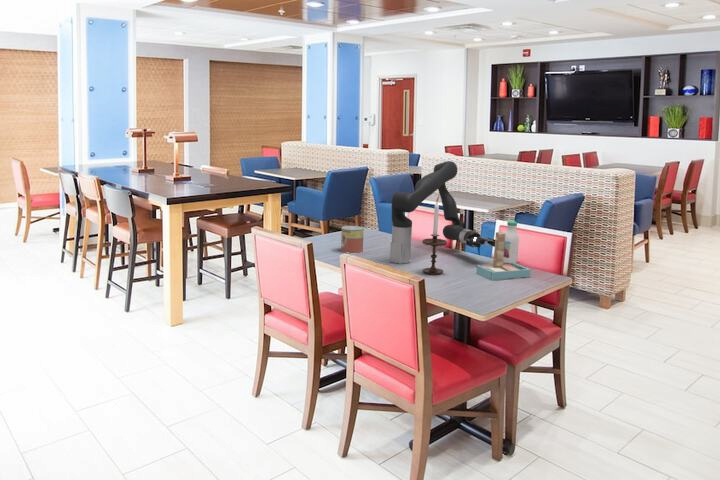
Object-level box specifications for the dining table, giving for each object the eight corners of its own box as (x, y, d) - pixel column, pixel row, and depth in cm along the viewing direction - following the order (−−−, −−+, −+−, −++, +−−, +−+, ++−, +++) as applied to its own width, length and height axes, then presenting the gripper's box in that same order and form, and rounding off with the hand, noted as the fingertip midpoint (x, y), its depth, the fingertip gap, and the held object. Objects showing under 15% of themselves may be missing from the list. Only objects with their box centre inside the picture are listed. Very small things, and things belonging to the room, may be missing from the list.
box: (476, 272, 290) (477, 265, 289) (513, 270, 297) (514, 262, 296) (491, 280, 278) (492, 272, 278) (530, 277, 286) (530, 269, 285)
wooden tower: (482, 272, 291) (485, 232, 287) (508, 270, 296) (511, 231, 292) (485, 274, 288) (489, 234, 284) (512, 272, 293) (515, 232, 289)
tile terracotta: (501, 273, 291) (502, 267, 290) (512, 273, 293) (512, 266, 292) (508, 276, 286) (509, 270, 285) (519, 276, 288) (519, 269, 287)
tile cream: (488, 274, 288) (488, 268, 288) (498, 274, 290) (499, 267, 290) (494, 278, 283) (495, 271, 283) (505, 277, 285) (506, 270, 285)
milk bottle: (514, 260, 316) (518, 220, 312) (518, 264, 309) (522, 223, 305) (499, 259, 316) (502, 220, 312) (503, 263, 309) (506, 222, 304)
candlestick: (441, 269, 294) (445, 193, 287) (447, 275, 284) (452, 197, 277) (418, 269, 293) (422, 193, 285) (424, 275, 282) (428, 196, 275)
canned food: (337, 249, 327) (338, 226, 324) (357, 247, 332) (358, 225, 329) (346, 254, 317) (346, 230, 314) (366, 252, 322) (367, 229, 319)
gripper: (457, 231, 309) (475, 237, 294) (483, 229, 314) (501, 236, 300) (456, 246, 311) (474, 253, 296) (481, 244, 316) (500, 252, 301)
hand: (487, 245), depth 298 cm, fingers open, 8 cm apart
